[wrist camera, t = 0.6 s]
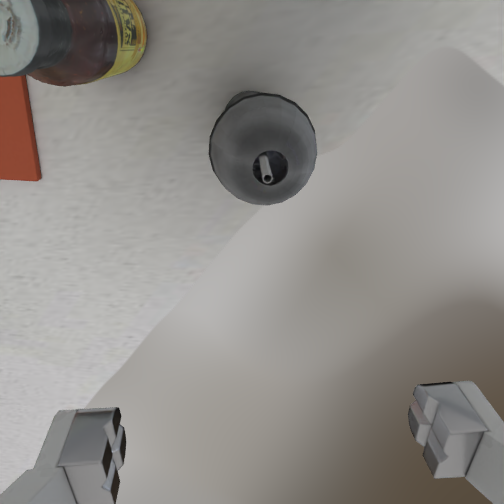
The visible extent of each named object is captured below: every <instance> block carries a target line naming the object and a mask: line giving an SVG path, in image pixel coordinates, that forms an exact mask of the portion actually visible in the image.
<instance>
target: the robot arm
mask: <svg viewBox="0 0 504 504" xmlns="http://www.w3.org/2000/svg"><path fill="white" fill-rule="evenodd" d="M413 395H414V397H415V399H416V401H414V402H413V403H412V404H411V405H410V408H409V413H408V417H409V425H410V429H411V432H412V434H413V436H414V438H415V440H416V441H417V442H418V443H420V444H421V445H422V446H424V447H425V448H424V453H423V457H424V459H425V461H426V463H427V465H428V467H429V469H430V470H431V473H432V475H433V477H434V478H451V477H466V479H467V480H468V481H469V482H470V483H471V484H472V485H473V486H474V487H476V488H477V489H478V490H479V491H480V492H481V493H482V494H483V495H484V496H485V497H486V498H488V499H489V500H490V501H491V502H492V503H493V504H504V422H503V421H502V420H501V418H500V417H499V415H498V414H497V413H496V411H495V410H494V409H493V407H492V406H491V405H490V403H489V402H488V401H487V399H486V398H485V397H484V395H483V394H482V392H481V391H480V390H479V388H478V387H477V386H476V384H475V383H473V382H472V381H461V382H460V381H459V382H443V383H432V384H420V385H417V386H416V387H415V389H414V392H413ZM120 420H121V413H120V410H119V408H117V407H114V408H93V409H75V410H59V411H58V412H57V414H56V415H55V416H54V418H53V421H52V423H51V426H50V428H49V431H48V433H47V436H46V438H45V441H44V443H43V446H42V448H41V451H40V453H39V456H38V458H37V461H36V463H35V466H34V468H33V469H31V470H26V471H25V472H24V473H23V474H22V475H21V476H20V477H19V478H18V479H17V480H16V481H15V482H14V483H13V484H11V485H10V486H9V487H8V488H7V489H6V490H5V491H4V492H3V493H2V494H1V495H0V504H116V499H117V494H118V489H119V484H120V479H119V476H118V472H117V471H118V470H119V469H120V468H121V467H122V466H123V464H124V458H125V450H126V436H125V430H124V427H123V426H121V425H120Z"/></svg>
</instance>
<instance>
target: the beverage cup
mask: <svg viewBox="0 0 504 504" xmlns="http://www.w3.org/2000/svg"><path fill="white" fill-rule="evenodd" d="M316 156H317V146H316V138H315V130H314V128H313V126H312V124H311V122H310V120H309V117H308V115H307V114H306V113H305V112H304V111H303V110H302V109H301V108H300V107H299V106H298V105H297V104H296V103H295V102H293V101H291V100H289V99H287V98H285V97H283V96H281V95H277V94H268V93H260V92H254V91H246V92H241V93H239V94H237V95H236V96H234V97H233V98H232V99H231V101H230V102H229V103H228V104H227V106H226V109H225V111H224V112H223V113H222V114H221V115H220V117H219V118H218V119H217V120H216V123H215V125H214V128H213V130H212V133H211V135H210V142H209V157H210V161H211V165H212V169H213V171H214V173H215V174H216V176H217V177H218V179H219V180H220V182H221V184H222V185H223V186H224V187H225V188H226V189H227V190H228V191H229V192H231V193H232V194H233V195H234V196H236V197H237V198H238V199H241V200H243V201H246V202H248V203H251V204H257V205H271V204H276V203H280V202H283V201H285V200H287V199H289V198H291V197H292V196H294V195H296V194H297V193H298V192H299V191H300V190H301V189H302V187H304V186H305V185H306V183H307V181H308V179H309V178H310V176H311V174H312V172H313V170H314V166H315V161H316Z"/></svg>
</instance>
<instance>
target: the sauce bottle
mask: <svg viewBox="0 0 504 504" xmlns="http://www.w3.org/2000/svg"><path fill="white" fill-rule="evenodd" d="M146 40H147V31H146V27H145V23H144V20H143V17H142V14H141V13H140V11H139V9H138V7H137V6H136V4H135V3H134V2H133V1H132V0H0V77H9V76H11V77H16V76H23V75H29V76H31V77H33V78H34V79H36V80H39V81H41V82H43V83H47V84H51V85H56V86H71V85H80V84H87V83H91V82H94V81H97V80H100V79H104V78H107V77H111V76H114V75H118V74H121V73H123V72H126V71H128V70H130V69H131V68H132V67H134V66H135V65H136V64H137V63H138V62H139V61H140V59H141V57H142V56H143V53H144V50H145V47H146Z"/></svg>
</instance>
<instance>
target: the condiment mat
mask: <svg viewBox="0 0 504 504" xmlns="http://www.w3.org/2000/svg"><path fill="white" fill-rule="evenodd" d="M0 179H5V180H23V181H39V180H40V179H41V172H40V166H39V159H38V153H37V146H36V140H35V134H34V127H33V121H32V115H31V108H30V102H29V95H28V89H27V83H26V76H25V75H23V76H16V77H11V76H9V77H0Z"/></svg>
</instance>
